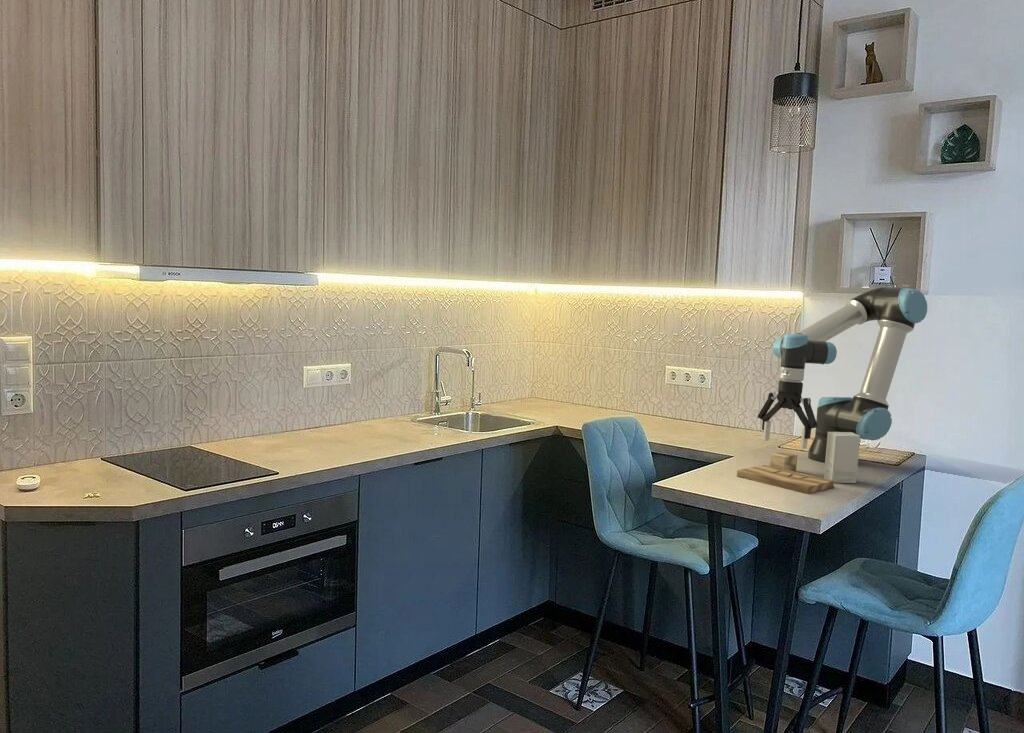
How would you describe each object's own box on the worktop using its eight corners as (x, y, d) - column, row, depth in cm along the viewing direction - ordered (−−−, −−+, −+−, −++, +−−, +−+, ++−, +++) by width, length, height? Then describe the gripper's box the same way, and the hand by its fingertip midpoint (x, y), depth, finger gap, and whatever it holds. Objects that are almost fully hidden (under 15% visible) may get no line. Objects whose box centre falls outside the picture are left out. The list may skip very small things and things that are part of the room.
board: (763, 470, 261) (764, 464, 261) (833, 487, 243) (834, 480, 243) (736, 476, 251) (737, 470, 250) (807, 493, 233) (807, 487, 232)
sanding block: (782, 469, 266) (783, 451, 265) (796, 472, 262) (797, 454, 262) (769, 471, 261) (771, 454, 260) (783, 475, 257) (785, 457, 256)
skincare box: (847, 479, 255) (852, 431, 254) (857, 484, 249) (862, 435, 247) (822, 478, 255) (826, 430, 254) (831, 483, 249) (835, 434, 247)
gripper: (751, 376, 265) (744, 438, 267) (821, 386, 247) (814, 452, 249) (763, 375, 270) (757, 436, 272) (833, 385, 252) (825, 450, 254)
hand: (784, 444), depth 260 cm, fingers open, 13 cm apart
